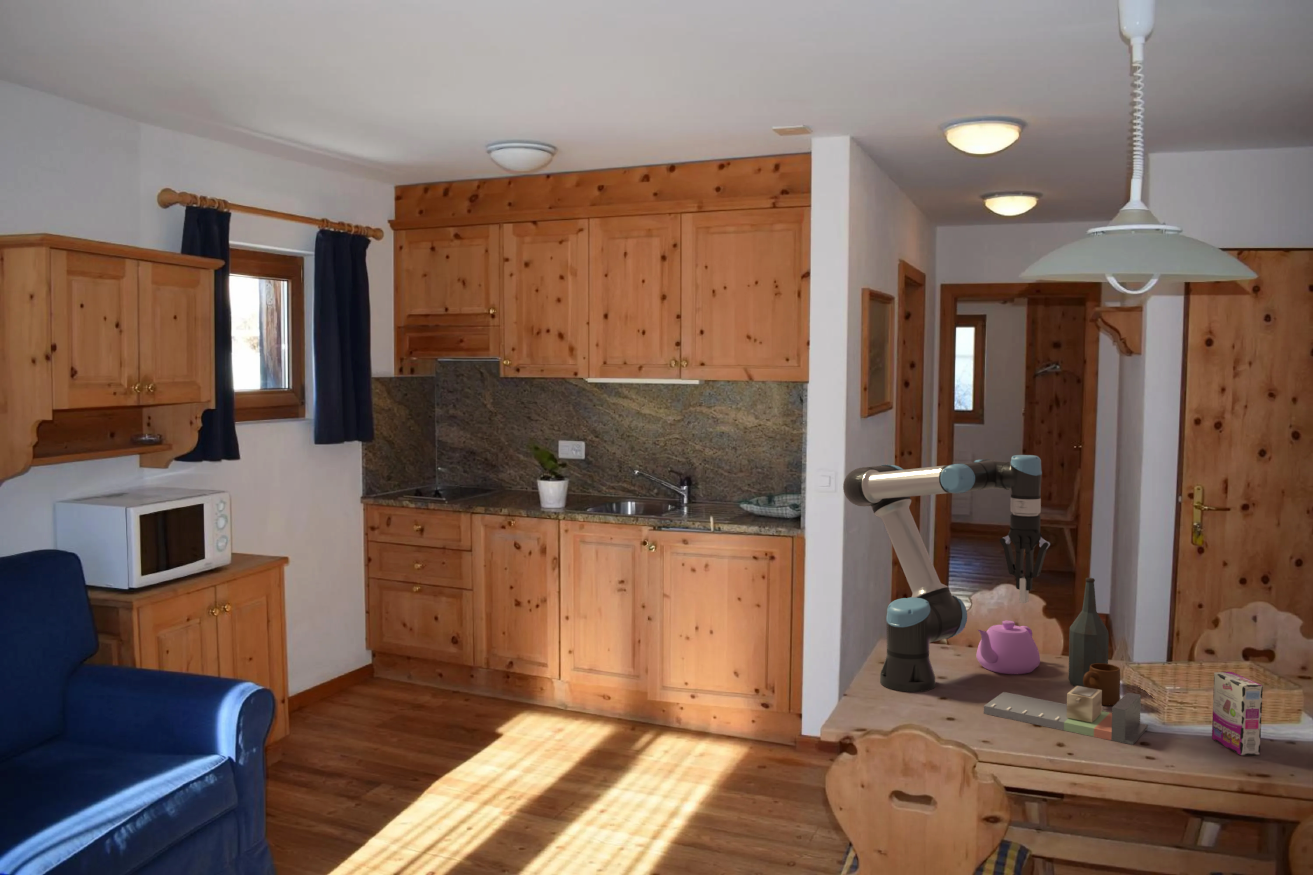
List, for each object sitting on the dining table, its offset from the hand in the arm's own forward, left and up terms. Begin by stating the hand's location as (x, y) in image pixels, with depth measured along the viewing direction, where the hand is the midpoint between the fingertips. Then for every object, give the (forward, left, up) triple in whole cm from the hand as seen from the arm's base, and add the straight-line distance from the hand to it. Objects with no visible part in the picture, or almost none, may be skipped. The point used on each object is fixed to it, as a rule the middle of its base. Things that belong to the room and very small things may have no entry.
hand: (1023, 601), depth 272 cm
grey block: (+29, -10, -26) cm, 40 cm away
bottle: (+10, +24, -27) cm, 37 cm away
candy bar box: (+51, -4, -27) cm, 58 cm away
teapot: (-14, +26, -27) cm, 40 cm away
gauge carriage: (+19, -11, -24) cm, 32 cm away
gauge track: (+11, -10, -26) cm, 30 cm away
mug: (+17, +9, -27) cm, 33 cm away
